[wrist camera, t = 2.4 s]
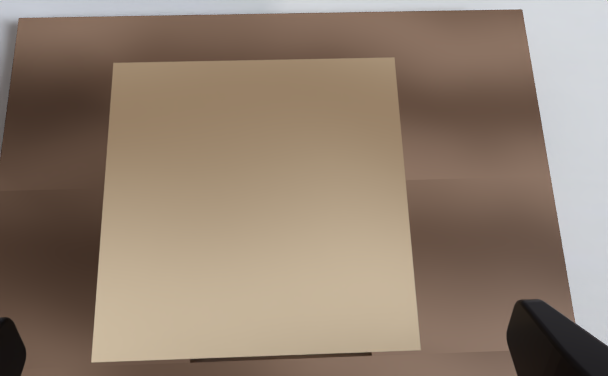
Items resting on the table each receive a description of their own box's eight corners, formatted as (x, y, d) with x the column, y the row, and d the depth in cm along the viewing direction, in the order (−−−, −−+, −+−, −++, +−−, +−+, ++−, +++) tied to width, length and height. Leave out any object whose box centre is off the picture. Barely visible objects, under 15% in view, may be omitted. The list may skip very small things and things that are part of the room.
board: (591, 568, 16) (621, 594, 14) (-29, 599, 15) (-63, 630, 14) (506, 30, 21) (522, 9, 19) (38, 39, 20) (18, 18, 19)
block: (336, 324, 17) (421, 349, 6) (226, 328, 17) (91, 362, 6) (331, 217, 18) (395, 57, 7) (227, 220, 18) (113, 62, 7)
